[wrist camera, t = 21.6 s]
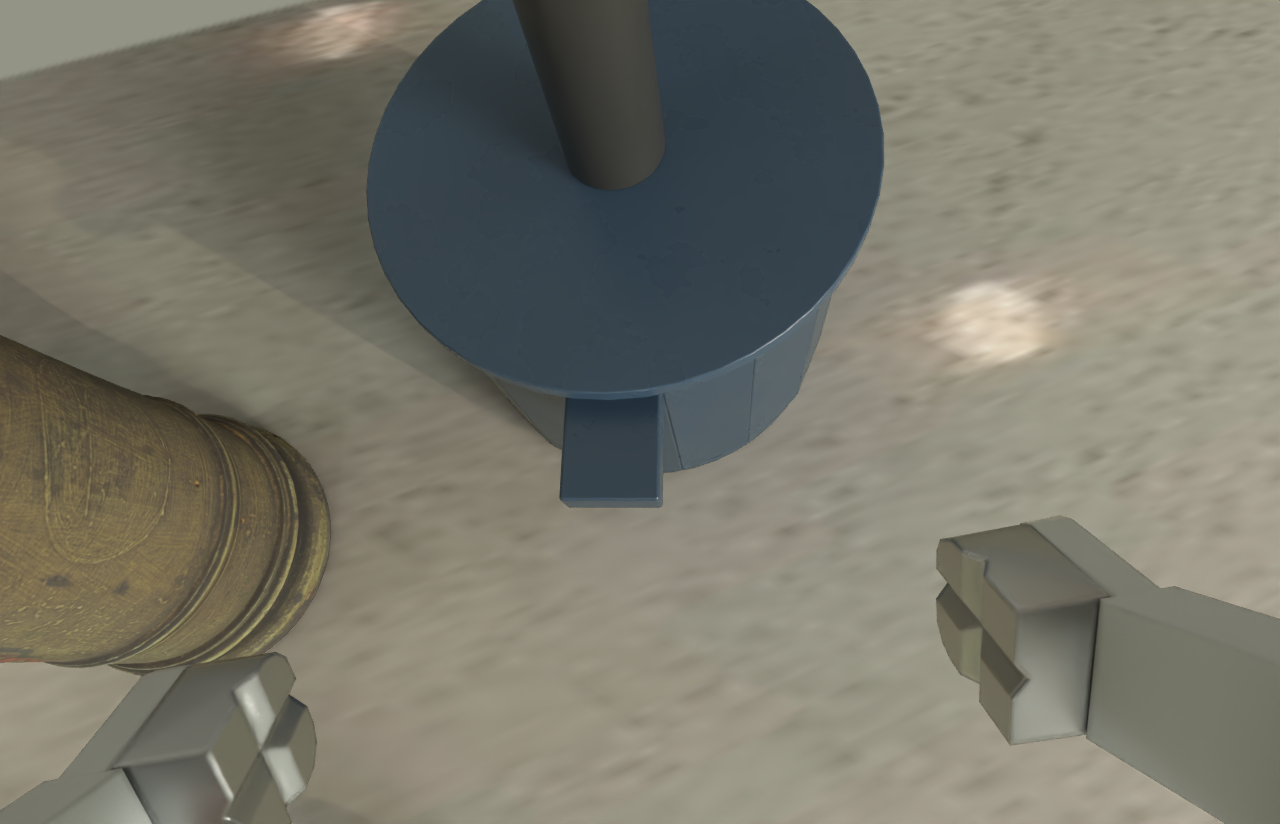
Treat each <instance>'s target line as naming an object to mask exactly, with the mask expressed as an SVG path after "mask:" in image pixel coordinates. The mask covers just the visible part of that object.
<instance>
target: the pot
mask: <svg viewBox="0 0 1280 824" xmlns="http://www.w3.org/2000/svg"><path fill="white" fill-rule="evenodd" d="M831 296H832V295H831ZM831 296H830V297H829V298H828V299H827V300H826V301H825V302H824V303H823V305H822V306H821V307H820V308H819V309H818V310H817V311H816V312H815V313H814V315H813V316H812V317H811V318H810V319H809V320H807V321H806V322H805V323H804V324H803V325H801V326H800V327H799V328H798V329H797V330H796V331H794V332H793V333H792V334H791V335H790V336H789V337H787V338H786V339H785V340H784V341H782V342H781V343H779V344H778V345H776V346H775V347H773V348H772V349H770V350H769V351H767V352H766V353H764V354H762V355H761V356H759V357H758V358H756V359H755V360H753V361H751V362H749V363H747V364H745V365H743V366H741V367H739V368H737V369H735V370H733V371H731V372H729V373H727V374H724V375H722V376H720V377H718V378H715V379H712V380H709V381H706V382H703V383H700V384H697V385H694V386H692V387H689V388H686V389H683V390H678V391H673V392H668V393H663V394H658V395H653V396H649V397H641V398H628V399H615V400H597V399H575V398H567V397H562V396H556V395H550V394H545V393H539V392H535V391H532V390H529V389H525V388H522V387H519V386H516V385H513V384H510V383H506V382H504V381H502V380H499V379H497V378H495V377H493V376H491V375H489V374H487V373H485V374H486V375H487V376H488V377H489V378H490V379H491V380H492V382H493V383H494V384H495V385H496V386H497V387H498V388H499V390H500V391H501V392H502V393H503V394H504V395H505V396H506V397H507V399H508V400H509V401H510V402H511V403H512V404H513V405H514V406H515V407H516V408H517V409H518V410H519V411H520V412H521V413H522V415H523V416H524V417H525V418H526V419H527V420H528V421H529V422H530V423H531V424H532V425H533V426H534V427H535V428H536V429H537V430H538V431H539V432H540V433H541V434H542V435H543V436H544V437H545V438H546V440H547V441H548V442H549V443H550V444H553V445H554V446H555V447H558V448H560V449H562V463H561V480H560V500H561V501H562V502H563V503H564V504H566V505H567V506H568V507H585V508H659V507H662V504H663V473H666V472H675V471H680V470H685V469H690V468H695V467H698V466H701V465H704V464H707V463H710V462H713V461H716V460H718V459H720V458H722V457H724V456H726V455H728V454H730V453H732V452H734V451H736V450H738V449H739V448H741V447H742V446H744V445H746V444H747V443H749V442H750V441H752V440H753V439H755V438H756V437H757V436H758V435H759V434H760V433H762V432H763V431H764V430H765V429H766V428H767V427H769V426H770V425H771V424H772V423H773V422H774V421H775V420H776V418H777V417H778V416H779V415H780V414H781V413H782V412H783V411H784V409H785V408H786V407H787V405H788V404H789V403H790V402H791V401H792V400H793V399H794V398H795V396H796V395H797V393H798V391H799V388H800V386H801V383H802V381H803V378H804V376H805V374H806V372H807V370H808V367H809V363H810V361H811V358H812V356H813V353H814V351H815V348H816V346H817V343H818V341H819V338H820V335H821V331H822V328H823V324H824V321H825V317H826V314H827V310H828V307H829V303H830V300H831Z"/></svg>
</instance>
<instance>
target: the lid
mask: <svg viewBox="0 0 1280 824" xmlns="http://www.w3.org/2000/svg"><path fill="white" fill-rule="evenodd" d="M883 169H884V133H883V128H882V122H881V117H880V111H879V105H878V102H877V100H876V97H875V94H874V91H873V88H872V85H871V82H870V80H869V77H868V75H867V73H866V71H865V69H864V68H863V66H862V64H861V62H860V60H859V58H858V56H857V55H856V53H855V51H854V50H853V49H852V47H851V46H850V45H849V43H848V42H847V41H846V39H845V38H844V37H843V35H842V34H841V33H840V31H839V30H838V29H837V28H836V27H835V26H834V25H833V24H832V23H831V22H830V21H829V20H828V19H827V18H826V17H825V16H824V15H823V14H822V13H821V12H820V11H819V10H818V9H817V8H816V7H814V6H813V5H812V4H810V3H809V2H808V1H806V0H482V1H481V2H479V3H478V4H477V5H475V6H474V7H472V8H471V9H470V10H468V11H467V12H466V13H464V14H463V15H461V16H460V17H459V18H457V19H456V20H455V21H454V22H453V23H452V24H451V25H449V26H448V27H447V28H446V29H445V30H444V31H443V32H442V33H441V34H440V35H438V36H437V37H436V38H435V39H434V40H433V41H432V42H431V44H430V45H429V46H428V47H427V48H426V49H425V50H424V51H423V53H422V54H421V55H420V56H419V57H418V58H417V59H416V60H415V62H414V63H413V65H412V66H411V68H410V69H409V70H408V72H407V73H406V75H405V76H404V78H403V79H402V80H401V82H400V83H399V85H398V87H397V89H396V90H395V92H394V94H393V96H392V98H391V100H390V102H389V103H388V105H387V107H386V109H385V112H384V114H383V117H382V119H381V122H380V125H379V127H378V130H377V133H376V135H375V139H374V143H373V148H372V152H371V156H370V161H369V168H368V179H367V207H368V221H369V225H370V230H371V234H372V239H373V244H374V248H375V250H376V253H377V256H378V258H379V261H380V263H381V266H382V268H383V271H384V274H385V275H386V277H387V279H388V281H389V282H390V284H391V286H392V287H393V289H394V291H395V293H396V294H397V296H398V298H399V299H400V301H401V302H402V303H403V304H404V306H405V307H406V308H407V309H408V310H409V312H410V313H411V314H412V315H413V317H414V318H415V319H416V320H417V321H418V323H419V324H420V325H421V326H422V327H423V328H424V329H425V330H426V331H427V332H428V333H429V334H431V335H432V336H433V337H434V338H435V339H436V340H437V341H438V342H439V343H441V344H442V345H443V346H444V347H445V348H446V349H447V350H449V351H450V352H452V353H453V354H455V355H456V356H458V357H459V358H461V359H462V360H464V361H465V362H467V363H468V364H470V365H471V366H473V367H474V368H476V369H478V370H480V371H483V372H485V373H487V374H489V375H491V376H493V377H495V378H497V379H499V380H502V381H504V382H506V383H510V384H513V385H516V386H519V387H522V388H525V389H529V390H532V391H535V392H539V393H545V394H550V395H556V396H562V397H567V398H575V399H597V400H615V399H628V398H641V397H649V396H653V395H658V394H663V393H668V392H673V391H678V390H683V389H686V388H689V387H692V386H694V385H697V384H700V383H703V382H706V381H709V380H712V379H715V378H718V377H720V376H722V375H724V374H727V373H729V372H731V371H733V370H735V369H737V368H739V367H741V366H743V365H745V364H747V363H749V362H751V361H753V360H755V359H756V358H758V357H759V356H761V355H762V354H764V353H766V352H767V351H769V350H770V349H772V348H773V347H775V346H776V345H778V344H779V343H781V342H782V341H784V340H785V339H786V338H787V337H789V336H790V335H791V334H792V333H793V332H794V331H796V330H797V329H798V328H799V327H800V326H801V325H803V324H804V323H805V322H806V321H807V320H809V319H810V318H811V317H812V316H813V315H814V313H815V312H816V311H817V310H818V309H819V308H820V307H821V306H822V305H823V303H824V302H825V301H826V300H827V299H828V298H829V297H830V296H831V295H832V293H833V292H834V291H835V290H836V288H837V287H838V285H839V284H840V282H841V281H842V279H843V278H844V276H845V275H846V273H847V272H848V270H849V269H850V267H851V266H852V265H853V263H854V261H855V259H856V257H857V255H858V252H859V250H860V248H861V246H862V244H863V242H864V240H865V238H866V236H867V234H868V231H869V228H870V225H871V221H872V218H873V215H874V212H875V208H876V205H877V202H878V199H879V196H880V189H881V182H882V175H883Z"/></svg>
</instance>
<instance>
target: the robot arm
mask: <svg viewBox="0 0 1280 824" xmlns="http://www.w3.org/2000/svg"><path fill="white" fill-rule="evenodd" d="M936 569H937V570H938V571H939V572H940V574H941V575H942V576H943V577H944V579H945V580H946V581H947V584H946V586H945V587H944V588H943V590H942V591H941V593H940V594H939V595H938V597H937V598H936V604H937V623H938V627H939V631H940V634H941V638H942V642H943V645H944V647H945V649H946V651H947V654H948V656H949V658H950V660H951V661H952V663H953V664H954V666H955V667H956V669H957V670H958V672H959V673H960V675H962V676H964V677H966V678H968V679H970V680H972V681H974V682H976V683H978V684H980V693H979V702H980V703H981V705H982V706H983V708H984V709H985V711H986V712H987V713H988V715H989V716H990V718H991V719H992V720H993V722H994V723H995V725H996V726H997V727H998V729H999V730H1000V732H1001V733H1002V735H1003V736H1004V737H1005V739H1006V740H1007V742H1008V743H1009V744H1010V746H1011V745H1018V744H1025V743H1032V742H1039V741H1045V740H1052V739H1059V738H1066V737H1073V736H1080V735H1086V738H1087V739H1088V740H1090V741H1091V742H1093V743H1095V744H1096V745H1098V746H1100V747H1101V748H1103V749H1104V750H1106V751H1108V752H1109V753H1111V754H1113V755H1114V756H1116V757H1118V758H1119V759H1121V760H1122V761H1124V762H1126V763H1127V764H1129V765H1131V766H1132V767H1134V768H1135V769H1137V770H1139V771H1140V772H1142V773H1144V774H1145V775H1147V776H1148V777H1150V778H1152V779H1153V780H1155V781H1157V782H1158V783H1160V784H1162V785H1163V786H1165V787H1166V788H1168V789H1170V790H1171V791H1173V792H1175V793H1176V794H1178V795H1179V796H1181V797H1183V798H1184V799H1186V800H1188V801H1189V802H1191V803H1193V804H1194V805H1196V806H1197V807H1199V808H1201V809H1202V810H1204V811H1206V812H1207V813H1209V814H1210V815H1212V816H1214V817H1215V818H1217V819H1219V820H1220V821H1222V822H1223V823H1225V824H1280V619H1278V618H1275V617H1271V616H1268V615H1265V614H1262V613H1259V612H1255V611H1252V610H1249V609H1246V608H1243V607H1239V606H1236V605H1233V604H1230V603H1226V602H1223V601H1220V600H1217V599H1214V598H1210V597H1207V596H1204V595H1201V594H1197V593H1194V592H1191V591H1188V590H1185V589H1181V588H1178V587H1175V586H1173V587H1167V588H1159V587H1158V586H1157V585H1156V584H1154V583H1153V582H1152V581H1150V580H1149V579H1148V578H1147V577H1145V576H1144V575H1143V574H1142V573H1140V572H1139V571H1138V570H1136V569H1135V568H1134V567H1133V566H1131V565H1130V564H1129V563H1128V562H1126V561H1125V560H1124V559H1122V558H1121V557H1120V556H1119V555H1117V554H1116V553H1115V552H1114V551H1112V550H1111V549H1110V548H1108V547H1107V546H1106V545H1105V544H1103V543H1102V542H1101V541H1100V540H1098V539H1097V538H1096V537H1094V536H1093V535H1092V534H1091V533H1089V532H1088V531H1087V530H1086V529H1084V528H1083V527H1082V526H1080V525H1079V524H1078V523H1077V522H1075V521H1074V520H1073V519H1071V518H1068V517H1064V516H1055V517H1050V518H1045V519H1040V520H1035V521H1030V522H1026V523H1021V524H1020V525H1015V526H1010V527H1004V528H999V529H993V530H988V531H983V532H977V533H972V534H966V535H961V536H956V537H950V538H945V539H940V542H939V545H938V548H937V558H936ZM295 679H296V677H295V675H294V673H293V671H292V668H291V666H290V664H289V662H288V660H287V658H286V657H285V656H283V655H281V654H279V653H277V652H271V653H265V654H258V655H251V656H245V657H238V658H231V659H224V660H218V661H211V662H204V663H198V664H195V665H185V666H179V667H173V668H168V669H162V670H156V671H153V672H151V673H149V674H147V675H144V676H142V677H141V678H140V679H139V681H138V682H137V683H136V684H135V685H134V687H133V688H132V689H131V690H130V692H129V693H128V694H127V695H126V697H125V698H124V699H123V700H122V701H121V703H120V704H119V705H118V706H117V708H116V709H115V710H114V711H113V713H112V714H111V715H110V716H109V717H108V719H107V720H106V721H105V722H104V724H103V725H102V726H101V727H100V728H99V730H98V731H97V732H96V733H95V735H94V736H93V737H92V738H91V740H90V741H89V742H88V743H87V744H86V746H85V747H84V748H83V749H82V751H81V752H80V753H79V754H78V756H77V757H76V758H75V759H74V760H73V762H72V763H71V764H70V765H69V767H68V768H67V769H66V770H65V771H64V773H63V774H62V775H61V776H60V778H59V779H56V780H50V781H45V782H43V783H41V784H40V785H38V786H37V787H35V788H34V789H32V790H31V791H29V792H28V793H26V794H25V795H23V796H22V797H20V798H19V799H17V800H16V801H14V802H13V803H11V804H10V805H8V806H7V807H5V808H4V809H2V810H1V811H0V824H291V823H292V821H291V819H290V816H289V814H288V812H287V809H286V807H287V806H288V805H289V804H290V803H291V802H292V801H293V800H294V799H295V798H296V797H297V796H298V795H299V794H300V793H301V792H303V791H304V790H305V789H306V787H307V784H308V782H309V779H310V776H311V774H312V771H313V769H314V763H315V754H316V745H317V740H316V733H315V727H314V722H313V719H312V717H311V714H310V712H309V709H308V707H307V706H306V705H304V704H303V703H301V702H300V701H298V700H297V699H295V698H294V697H292V696H291V695H289V694H290V691H291V689H292V687H293V684H294V682H295Z"/></svg>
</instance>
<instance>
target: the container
mask: <svg viewBox="0 0 1280 824" xmlns="http://www.w3.org/2000/svg"><path fill="white" fill-rule="evenodd" d="M330 531H331V530H330V515H329V508H328V503H327V500H326V496H325V493H324V490H323V488H322V485H321V483H320V481H319V479H318V478H317V476H316V474H315V472H314V471H313V469H312V467H311V466H310V464H309V463H308V462H307V461H306V460H305V459H304V458H303V457H302V456H301V454H300V453H299V452H298V451H297V450H295V449H294V448H293V447H292V446H291V445H290V444H288V443H287V442H285V441H284V440H283V439H281V438H279V437H278V436H276V435H274V434H272V433H270V432H268V431H265V430H263V429H260V428H257V427H254V426H249V425H247V424H245V423H243V422H240V421H238V420H236V419H233V418H229V417H225V416H220V415H212V414H199V415H197V414H195V413H194V412H193V411H191V410H189V409H188V408H186V407H185V406H183V405H181V404H178V403H176V402H173V401H170V400H168V399H164V398H159V397H151V396H149V395H141V394H139V393H136V392H134V391H131V390H128V389H126V388H123V387H121V386H118V385H116V384H113V383H111V382H108V381H106V380H104V379H101V378H99V377H96V376H94V375H91V374H89V373H87V372H84V371H82V370H79V369H77V368H75V367H73V366H70V365H68V364H66V363H63V362H61V361H59V360H57V359H54V358H52V357H50V356H47V355H45V354H43V353H40V352H38V351H36V350H33V349H31V348H29V347H27V346H24V345H22V344H20V343H17V342H15V341H13V340H10V339H8V338H6V337H3V336H1V335H0V663H5V662H45V663H48V664H52V665H56V666H60V667H67V668H91V667H98V666H103V665H108V666H110V667H112V668H115V669H117V670H120V671H123V672H126V673H130V674H135V675H141V676H144V675H147V674H149V673H151V672H153V671H156V670H162V669H168V668H173V667H179V666H185V665H195V664H198V663H204V662H211V661H218V660H224V659H231V658H238V657H245V656H251V655H258V654H262V653H264V652H265V651H267V650H268V649H270V648H271V647H272V646H273V645H275V644H276V643H277V642H278V641H280V640H281V639H282V638H283V637H284V636H285V635H286V634H287V633H288V632H289V631H290V630H291V628H292V627H293V626H294V625H295V624H296V623H297V622H298V620H299V619H300V618H301V616H302V615H303V614H304V612H305V611H306V609H307V608H308V606H309V604H310V603H311V601H312V599H313V597H314V595H315V593H316V591H317V589H318V587H319V584H320V582H321V579H322V576H323V574H324V571H325V567H326V564H327V559H328V554H329V546H330Z"/></svg>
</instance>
